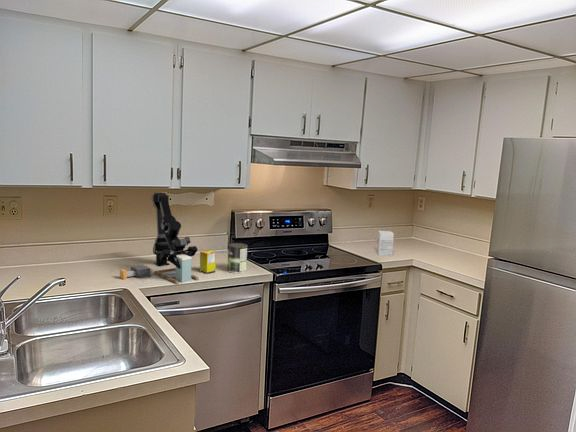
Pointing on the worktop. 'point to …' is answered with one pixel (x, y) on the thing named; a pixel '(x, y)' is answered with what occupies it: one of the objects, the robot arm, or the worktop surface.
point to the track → (171, 275)
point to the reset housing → (141, 271)
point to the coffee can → (237, 257)
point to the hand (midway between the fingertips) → (184, 267)
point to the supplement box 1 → (207, 261)
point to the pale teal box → (184, 268)
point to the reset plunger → (126, 273)
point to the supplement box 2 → (385, 243)
